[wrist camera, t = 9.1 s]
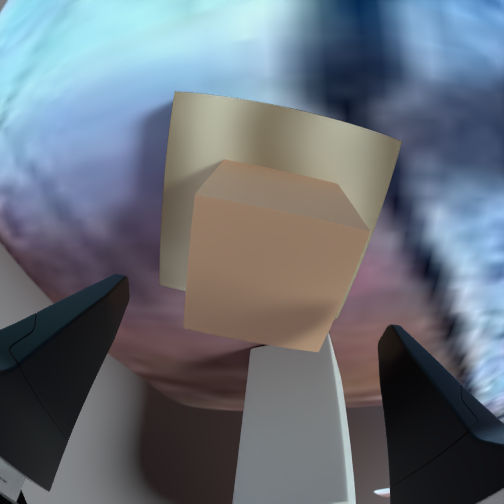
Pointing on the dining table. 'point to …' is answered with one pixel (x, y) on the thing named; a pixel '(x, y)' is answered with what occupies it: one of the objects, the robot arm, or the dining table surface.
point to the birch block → (263, 162)
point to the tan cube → (270, 256)
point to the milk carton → (294, 430)
